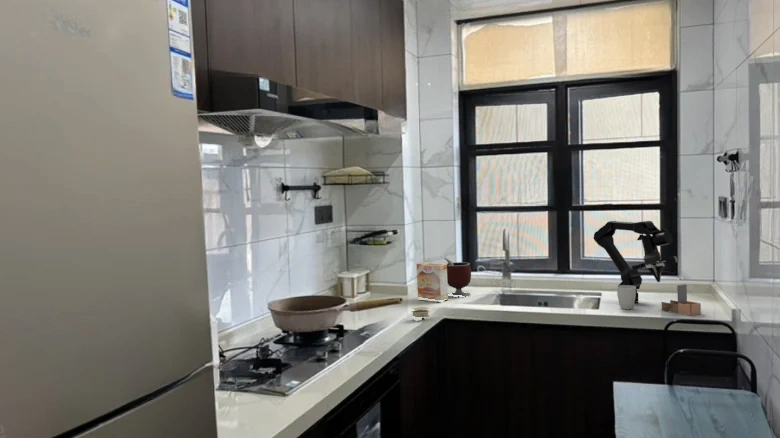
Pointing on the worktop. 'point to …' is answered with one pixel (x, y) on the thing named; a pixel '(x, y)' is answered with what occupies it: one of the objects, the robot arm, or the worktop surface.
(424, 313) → the stacked layers on plate
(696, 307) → the cup
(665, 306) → the tray
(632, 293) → the cup
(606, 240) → the robot arm
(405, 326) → the worktop surface
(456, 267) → the mate gourd
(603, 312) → the worktop surface
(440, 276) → the coffeecake box
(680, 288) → the plunger
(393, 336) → the worktop surface
